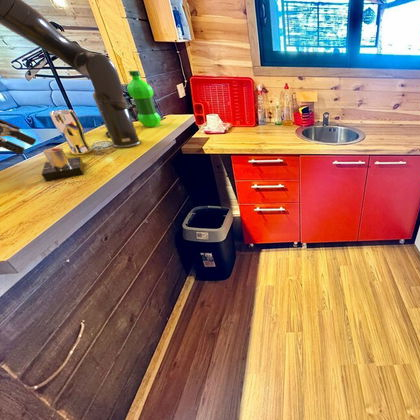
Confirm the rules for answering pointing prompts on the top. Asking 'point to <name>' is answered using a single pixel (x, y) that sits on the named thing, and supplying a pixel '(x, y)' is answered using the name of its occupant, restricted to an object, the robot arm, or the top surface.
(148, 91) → the plastic bottle
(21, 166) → the top surface
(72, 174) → the black flat block
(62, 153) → the dial
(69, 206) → the top surface
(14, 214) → the top surface
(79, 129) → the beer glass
